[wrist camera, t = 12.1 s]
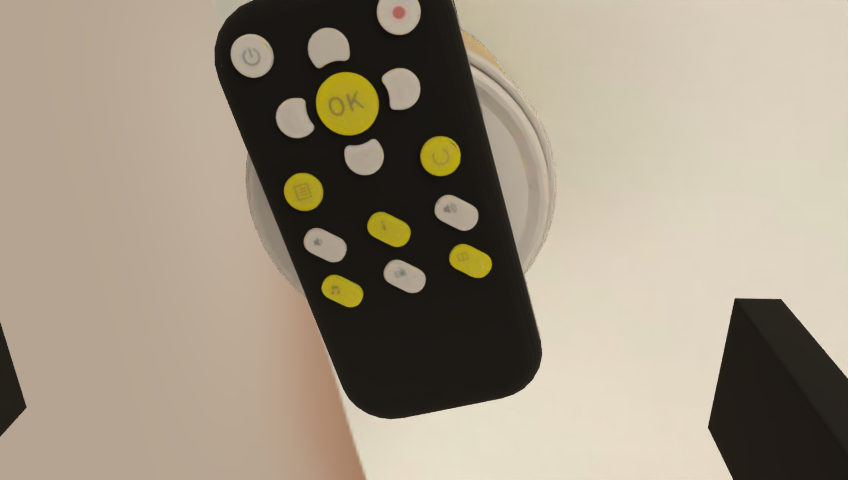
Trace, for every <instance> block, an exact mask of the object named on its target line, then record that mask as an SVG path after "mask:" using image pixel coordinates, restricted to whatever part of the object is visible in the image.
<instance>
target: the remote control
mask: <svg viewBox="0 0 848 480" xmlns="http://www.w3.org/2000/svg"><path fill="white" fill-rule="evenodd" d="M215 66H216V70H217V74H218V78H219V81H220V84H221V86H222V89H223V91H224V94H225V96H226V99H227V101H228V104H229V106H230V108H231V111H232V114H233V116H234V119H235V121H236V123H237V126H238V128H239V131H240V133H241V136H242V138H243V141H244V143H245V146H246V148H247V151H248V153H249V156H250V158H251V161H252V163H253V166H254V168H255V171H256V173H257V176H258V178H259V181H260V183H261V186H262V188H263V191H264V193H265V196H266V198H267V201H268V203H269V206H270V208H271V211H272V213H273V216H274V218H275V221H276V223H277V226H278V228H279V231H280V233H281V235H282V238H283V240H284V243H285V245H286V248H287V250H288V253H289V255H290V258H291V260H292V263H293V265H294V268H295V270H296V273H297V275H298V278H299V280H300V283H301V285H302V288H303V290H304V293H305V295H306V298H307V300H308V303H309V305H310V308H311V310H312V313H313V315H314V318H315V320H316V323H317V325H318V328H319V330H320V333H321V335H322V338H323V340H324V343H325V345H326V347H327V350H328V352H329V355H330V357H331V360H332V362H333V365H334V367H335V370H336V372H337V375H338V377H339V380H340V382H341V385H342V387H343V389H344V391H345V393H346V395H347V396H348V398H349V399H350V400H351V401H352V402H353V403H354V404H355V405H356V406H357V407H358V408H359V409H361V410H363V411H364V412H366V413H368V414H370V415H373V416H376V417H379V418H386V419H397V418H405V417H410V416H415V415H420V414H426V413H431V412H436V411H441V410H446V409H451V408H456V407H461V406H466V405H471V404H476V403H481V402H486V401H491V400H496V399H501V398H504V397H507V396H510V395H513V394H515V393H517V392H519V391H520V390H522V389H524V388H525V387H526V386H527V385H528V384H529V383H530V382H531V381H532V380H533V378H534V376H535V374H536V373H537V371H538V369H539V367H540V362H541V358H542V348H541V340H540V334H539V330H538V326H537V322H536V318H535V314H534V310H533V306H532V302H531V299H530V295H529V291H528V287H527V283H526V279H525V275H524V271H523V268H522V264H521V260H520V256H519V252H518V248H517V244H516V240H515V236H514V233H513V229H512V225H511V221H510V217H509V213H508V209H507V205H506V202H505V198H504V194H503V190H502V186H501V182H500V178H499V174H498V170H497V167H496V163H495V159H494V155H493V151H492V147H491V143H490V139H489V136H488V132H487V128H486V124H485V120H484V116H483V111H482V107H481V103H480V99H479V96H478V92H477V88H476V84H475V81H474V77H473V73H472V69H471V67H470V63H469V59H468V55H467V51H466V47H465V42H464V38H463V35H462V31H461V27H460V24H459V20H458V15H457V11H456V7H455V4H454V0H253V1H251V2H249V3H246V4H244V5H242V6H240V7H239V8H238V9H237V10H236V11H235V12H233V13H232V14H231V15H230V16H229V17H228V18H227V19H226V21H225V23H224V24H223V26H222V28H221V29H220V31H219V33H218V37H217V41H216V45H215Z"/></svg>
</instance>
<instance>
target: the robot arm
mask: <svg viewBox="0 0 848 480" xmlns="http://www.w3.org/2000/svg"><path fill="white" fill-rule="evenodd" d="M25 409H26V404H25V401H24V398H23V395H22V391H21V388H20V385H19V381H18V378H17V375H16V372H15V369H14V365H13V362H12V359H11V356H10V352H9V349H8V346H7V343H6V339H5V336H4V333H3V330H2V327H1V323H0V436H1V435H2V434H3V433H4V432H5V431H6V430H7V428H8V427H9V426H10V425H11V424H12V423H13V422H14V421H15V420H16V418H18V416H19V415H20V414H21V413H22V412H23V411H24V410H25ZM708 428H709V430H710V432H711V435H712V437H713V439H714V441H715V443H716V445H717V447H718V449H719V451H720V453H721V455H722V457H723V459H724V462H725V464H726V466H727V468H728V470H729V472H730V474H731V476H732V478H733V480H848V378H847V377H846V376H845V375H844V374H843V372H842V371H841V370H840V369H839V368H838V366H837V365H836V364H835V363H834V362H833V360H832V359H831V358H830V357H829V356H828V354H827V353H826V352H825V351H824V350H823V349H822V347H821V346H820V345H819V344H818V343H817V341H816V340H815V339H814V338H813V337H812V335H811V334H810V333H809V332H808V331H807V329H806V328H805V327H804V326H803V325H802V324H801V322H800V321H799V320H798V319H797V318H796V316H795V315H794V314H793V313H792V312H791V310H790V309H789V308H788V307H787V306H786V304H785V303H784V302H783V301H782V300H781V299H740V298H735V300H734V305H733V310H732V315H731V319H730V324H729V329H728V334H727V339H726V343H725V348H724V353H723V358H722V363H721V367H720V372H719V377H718V382H717V387H716V391H715V396H714V401H713V406H712V411H711V415H710V420H709V425H708Z"/></svg>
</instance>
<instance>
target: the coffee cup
mask: <svg viewBox="0 0 848 480" xmlns="http://www.w3.org/2000/svg"><path fill="white" fill-rule="evenodd" d="M461 31H462V35H463V38H464V42H465V47H466V51H467V55H468V59H469V63H470V67H471V69H472V73H473V77H474V81H475V84H476V88H477V92H478V96H479V99H480V103H481V107H482V111H483V116H484V120H485V124H486V128H487V132H488V136H489V139H490V143H491V147H492V151H493V155H494V159H495V163H496V167H497V170H498V174H499V178H500V182H501V186H502V190H503V194H504V198H505V202H506V205H507V209H508V213H509V217H510V221H511V225H512V229H513V233H514V236H515V240H516V244H517V248H518V252H519V256H520V260H521V264H522V268H523V271H524V274H525V273H526V272H527V271H528V269H529V268H530V267H531V265H532V264H533V262H534V261H535V259H536V257H537V256H538V254H539V252H540V250H541V248H542V246H543V244H544V242H545V240H546V237H547V234H548V232H549V229H550V226H551V222H552V217H553V213H554V207H555V197H556V174H555V166H554V158H553V154H552V150H551V146H550V142H549V140H548V137H547V134H546V132H545V129H544V126H543V124H542V122H541V121H540V119H539V117H538V115H537V113H536V111H535V109H534V108H533V106H532V105H531V104H530V102H529V101H528V99H527V98H526V96H525V95H524V94H523V93H522V92H521V90H520V89H519V88H518V87H517V86H516V84H515V83H514V82H513V81H511V80H510V79H509V78H508V76H507V75H506V74H505V72H504V71H503V70H502V68H501V67H500V66H499V64H498V63H497V62H496V60H495V59H494V58H493V56H492V55H491V54H490V53H489V51H488V50H487V49H486V48H485V47H484V46H483V45H482V44H481V43H479V42H478V41H477V40H476V39H475V38H473V37H472V36H471V35H469V34H468V33H466V32H465V31H463V30H461ZM246 188H247V198H248V203H249V208H250V213H251V216H252V219H253V221H254V225H255V228H256V230H257V232H258V235H259V237H260V239H261V242H262V243H263V246H264V248H265V250H266V251H267V253H268V255H269V256H270V258H271V260H272V261H273V263H274V264H275V266H276V267H277V269H278V270H279V271H280V273H281V274H282V275H283V276H284V277H285V278H286V279H287V280H288V282H289V283H290V284H291V285H292V286H293V287H294V288H295V289H296V290H297V291H298V292H300V293H301V294H302V295H303V296H304V297H306V295H305V293H304V290H303V288H302V285H301V283H300V280H299V278H298V275H297V273H296V270H295V268H294V265H293V263H292V260H291V258H290V255H289V253H288V250H287V248H286V245H285V243H284V240H283V238H282V235H281V233H280V231H279V228H278V226H277V223H276V221H275V218H274V216H273V213H272V211H271V208H270V206H269V203H268V201H267V198H266V196H265V193H264V191H263V188H262V186H261V183H260V181H259V178H258V176H257V173H256V171H255V168H254V166H253V163H252V161H251V158H250V156H249V153H248V156H247V163H246Z"/></svg>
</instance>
